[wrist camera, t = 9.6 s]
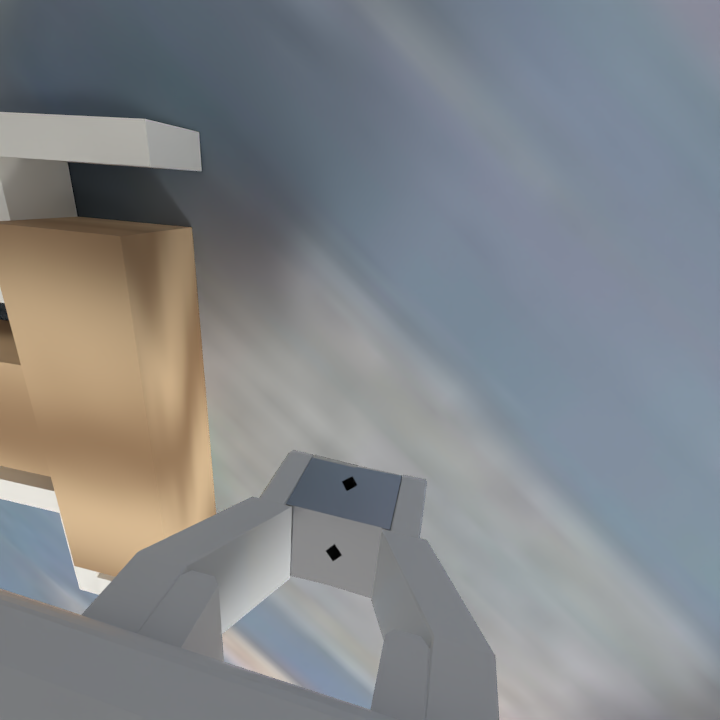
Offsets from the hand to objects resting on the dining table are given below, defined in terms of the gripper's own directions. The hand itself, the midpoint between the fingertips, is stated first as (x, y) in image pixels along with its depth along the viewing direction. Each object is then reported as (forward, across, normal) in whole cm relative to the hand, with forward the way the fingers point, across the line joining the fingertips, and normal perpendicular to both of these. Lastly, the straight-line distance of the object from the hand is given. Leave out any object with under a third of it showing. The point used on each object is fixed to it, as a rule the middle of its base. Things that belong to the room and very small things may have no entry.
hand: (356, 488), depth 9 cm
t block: (+4, +13, +2) cm, 13 cm away
